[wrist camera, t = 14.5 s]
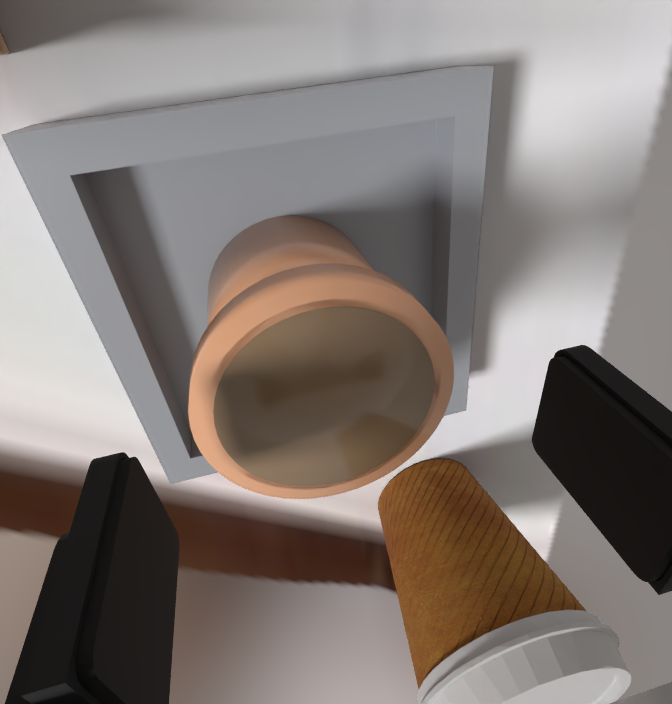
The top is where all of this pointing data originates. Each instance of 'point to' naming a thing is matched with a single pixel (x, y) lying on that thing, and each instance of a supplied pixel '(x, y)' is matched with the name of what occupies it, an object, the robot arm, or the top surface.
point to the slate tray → (259, 212)
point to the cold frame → (3, 46)
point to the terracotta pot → (312, 364)
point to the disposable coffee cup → (487, 601)
